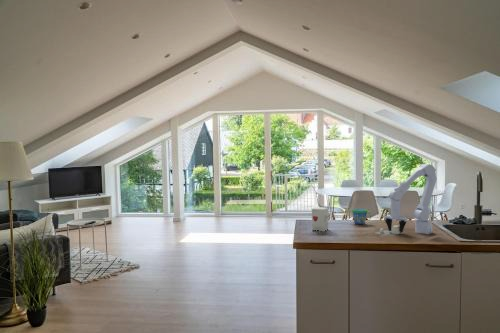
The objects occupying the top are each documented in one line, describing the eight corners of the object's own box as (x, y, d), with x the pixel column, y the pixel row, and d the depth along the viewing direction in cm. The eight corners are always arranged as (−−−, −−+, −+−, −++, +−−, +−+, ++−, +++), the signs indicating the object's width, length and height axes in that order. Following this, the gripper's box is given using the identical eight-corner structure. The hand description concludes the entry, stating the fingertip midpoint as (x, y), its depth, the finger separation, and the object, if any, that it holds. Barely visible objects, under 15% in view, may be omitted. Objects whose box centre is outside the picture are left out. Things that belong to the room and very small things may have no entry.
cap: (401, 232, 265) (401, 226, 265) (397, 233, 262) (397, 227, 262) (394, 231, 269) (394, 225, 269) (390, 232, 266) (389, 226, 266)
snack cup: (372, 223, 309) (372, 209, 309) (368, 225, 300) (368, 211, 300) (351, 221, 317) (351, 208, 317) (346, 224, 308) (346, 210, 308)
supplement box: (311, 230, 286) (311, 208, 285) (315, 228, 294) (315, 206, 293) (324, 231, 281) (324, 209, 281) (328, 229, 289) (328, 207, 289)
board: (403, 235, 265) (403, 228, 265) (393, 238, 257) (393, 231, 257) (384, 232, 275) (384, 225, 275) (374, 235, 266) (373, 228, 266)
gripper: (381, 209, 268) (381, 231, 268) (403, 211, 257) (403, 234, 258) (387, 208, 273) (387, 229, 273) (409, 210, 262) (409, 232, 262)
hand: (395, 231), depth 266 cm, fingers open, 7 cm apart
